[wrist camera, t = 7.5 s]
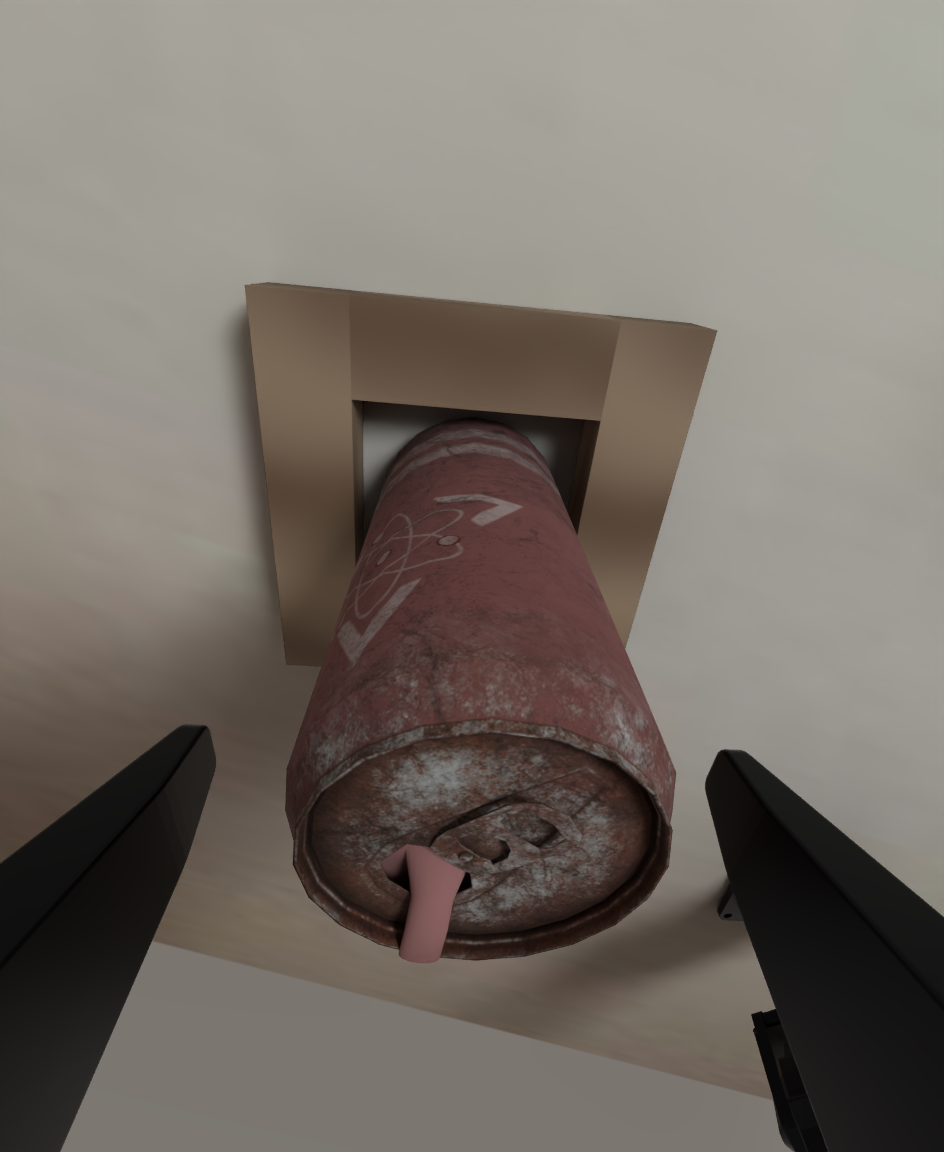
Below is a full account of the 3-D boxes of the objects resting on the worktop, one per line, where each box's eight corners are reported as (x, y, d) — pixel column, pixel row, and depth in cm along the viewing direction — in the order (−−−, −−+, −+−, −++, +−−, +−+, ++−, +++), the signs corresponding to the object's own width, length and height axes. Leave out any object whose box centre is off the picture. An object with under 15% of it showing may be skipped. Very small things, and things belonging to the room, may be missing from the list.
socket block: (603, 651, 23) (615, 682, 22) (299, 633, 23) (286, 664, 21) (690, 323, 17) (717, 330, 15) (268, 282, 16) (244, 285, 14)
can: (375, 561, 21) (260, 970, 9) (399, 397, 18) (270, 682, 6) (526, 588, 22) (607, 998, 10) (574, 434, 19) (782, 757, 7)
